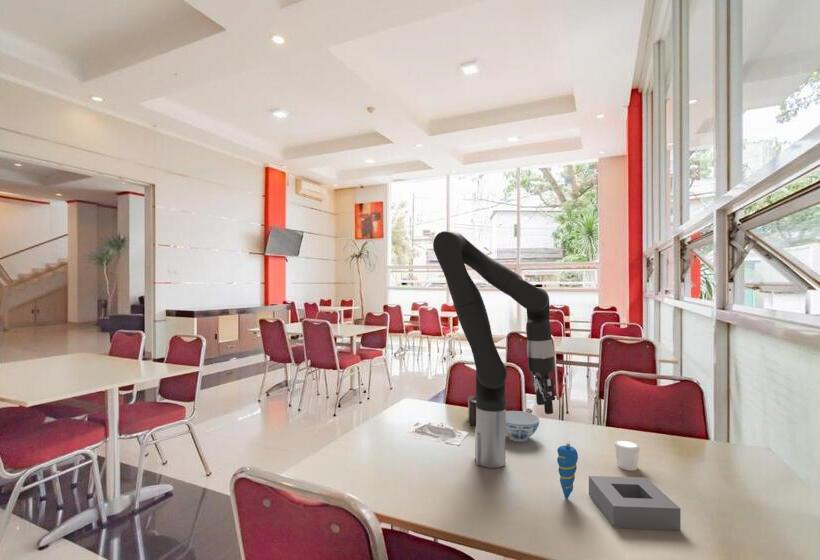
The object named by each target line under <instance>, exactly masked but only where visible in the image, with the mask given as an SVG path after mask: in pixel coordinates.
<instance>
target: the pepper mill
mask: <svg viewBox="0 0 820 560" xmlns="http://www.w3.org/2000/svg"><path fill="white" fill-rule="evenodd" d="M467 400H468V401H467V407H468V411H467V412H468V413H467V414H468V418H467V419H468V424H469V426H470V427H476V395H469V396H468V397H467Z"/></svg>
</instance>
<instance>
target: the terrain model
mask: <svg viewBox="0 0 820 560" xmlns="http://www.w3.org/2000/svg"><path fill="white" fill-rule="evenodd" d="M469 434H470V432H467V431H464V430H458V429H457V428H455V427H454V426H452V425H448V424H447V423H442V422H440V423H439V422H430V421H429V422H428V423H425V424H423V423H421V422H419V421H416V422H415V423H413V425H412V427H411V428H409V429H408V430H407V431H406V432H405V433H404V434H403V436H404V437H409V438H413V439H418V440H427V441H432V442H436V443H441V442H444V443H445V444H447V445H453V446H458V447H459V446H461V444H462V442H464V440H465V439H466V438H467V436H468V435H469Z"/></svg>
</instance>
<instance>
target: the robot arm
mask: <svg viewBox="0 0 820 560" xmlns="http://www.w3.org/2000/svg"><path fill="white" fill-rule="evenodd" d="M432 247H433V252H434V254H435V257H436V259H437V262H438V264H439V266H440V268H441V270H442V272H443V275H444V277H445V280H446V284H447V288H448V290H449V293H450V297H451V300H452V304H453V306H454V310H455V313H456V317H457V319H458V321H459V324H460V326H461V329H462V331H463V334H464V336H465V338H466V340H467V342H468V345H469V347H470V349H471V353H472V357H473V361H474V366H475V396H476V426H475V428H474V429H475V430H474V458H475V463H476V466H481V467H486V468H490V469H491V468H492V469H496V468H497V469H498V468H503V467H504V466H505V465H506V459H507V458H506V457H507V455H506V449H507V447H506V443H507V442H506V439H507V438H506V437H507V434H506V411H507V409H506V407H507V404H506V403H507V401H506V400H507V399H506V379H507V375H508V374H507V373H508V371H507V368H506V366H505V363H504V362H503V360H502V359H501V356H500V354H499V352H498V349H497V346H496V344H495V341H494V337H493V334H492V328H491V324H490V320H489V316H488V312H487V308H486V305H485V303H484V299H483V297H482V295H481V294H482V293H481V292H480V290H479V289H478V287H477V285H476V284H475V282H474V280H473V279H472V277H471V276H470V274H469V273H468V271H467V269H466V266H468V267H470V268H471V269H472V270H474V271H475V272H476V273H477V274H478V275H480V277H482V278H483V280H485V281H486V282H487V283H488V284H490V285H491V286H493V287H494V288H496V289H498V290H499V291H501V292H502V293H503V294H505V295H507V296H509V297H510V298H512V299H513V301H515V302H516V303H518V304H519V305H520V306H522V307H523V308H524V309H525V310H526V317H527V318H526V319H527V320H526V326H525V328H526V330H525V331H526V354H527V355H526V356H527V366H528V367H527V368H528V371H530V373H531V374H532V387H533V389H534V393H535V396H536V404H537V406H543V407H544V408H543V409H544V413H545V414H546V415H552V414H553V413H554V407H553V406H554V405H553V401H555V400H556V395H555V386H554V379H553V378H551V377H550V374H549V373H551V372H554V371H555V369H556V367H555V356H554V354H555V353H554V345H553V341H552V327H551V322H550V312H551V311H550V308H551V307H550V298H549V297H550V296H549V294H548V292H547V291H546V290H545V289H543V288H541V287H537V286H535V285H533V284H532V283H530V282H529V281H527V280H525V279H524V278H523V277H522V276H520V274H518V273H516V272H515V271H513V270H511V269H510V268H508V267H507V266H506V265H504V264H502V263H500V262H499V261H497V260H495V259H493V258H491V256H489V255H487V254H486V253H484V252H482V250H480V249H478V248H477V247H476V246H475V245H474V244H473V243H472V242H470V241H469V240H468V239H467V238H466V237H464V236H463V235H462V233H460V232H459V231H455V230H444V231H440V232H438V233H437V234H436V235H435V237H434V238H433V242H432Z"/></svg>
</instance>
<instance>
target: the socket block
mask: <svg viewBox="0 0 820 560" xmlns="http://www.w3.org/2000/svg"><path fill="white" fill-rule="evenodd" d="M589 495H590V496H591V497H590V496H589ZM588 496H589V497H590V499H591V500H592V499H593V500H592V501H593V502H594V504H595V503H596V504H595V505H596V506H597V507H598V509H599V510H600V512H601V513H602V515H603V516H604V517H605V518H606V519H607V521H608V523H609V524H610V525H611V527H612V528H613V529H632V530H633V529H636V530H637V529H638V530H658V531H659V530H661V531H663V530H664V531H681V507H680V506H678V505H677V503H675V502H674V501H673V500H672V499H670V498H669V497H668V496H667V495H666V494H665V493H664V492H663V491H662V490H661V489H660V488H658V487H657V486H656V485H655V483H653V482H652V481H651V480H649V479H648V477H639V476H638V477H637V476H636V477H635V476H634V477H633V476H609V475H608V476H606V475H605V476H604V475H588Z"/></svg>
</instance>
